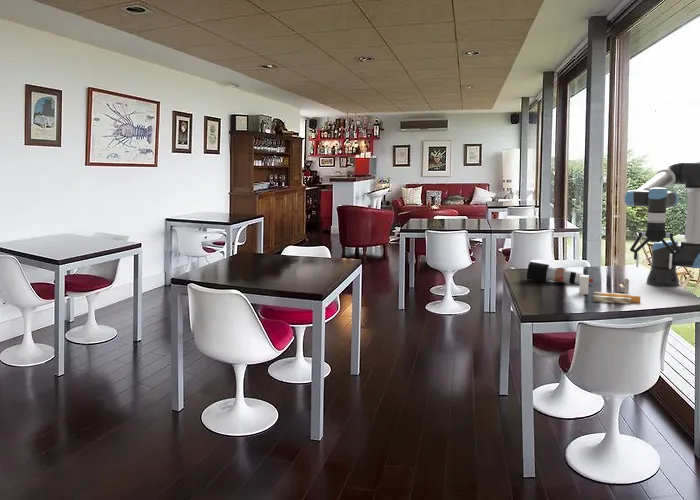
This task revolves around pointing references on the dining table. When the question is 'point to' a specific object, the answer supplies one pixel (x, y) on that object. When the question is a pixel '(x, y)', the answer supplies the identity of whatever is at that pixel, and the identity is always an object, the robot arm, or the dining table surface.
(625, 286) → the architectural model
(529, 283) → the dining table surface
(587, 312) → the dining table surface
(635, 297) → the orange rod
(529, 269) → the black white tapered cylinder
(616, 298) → the clip rails
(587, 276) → the white tall block
